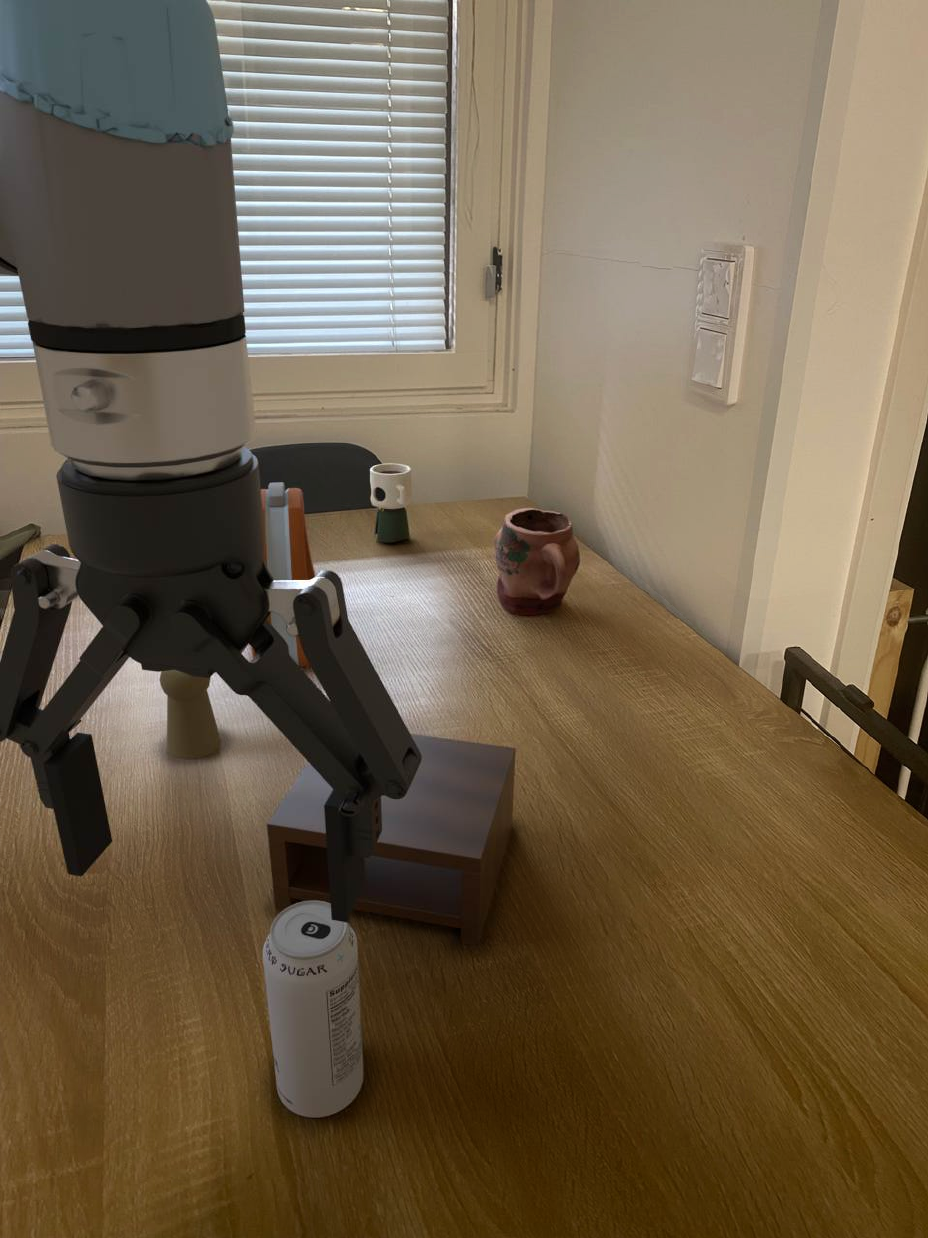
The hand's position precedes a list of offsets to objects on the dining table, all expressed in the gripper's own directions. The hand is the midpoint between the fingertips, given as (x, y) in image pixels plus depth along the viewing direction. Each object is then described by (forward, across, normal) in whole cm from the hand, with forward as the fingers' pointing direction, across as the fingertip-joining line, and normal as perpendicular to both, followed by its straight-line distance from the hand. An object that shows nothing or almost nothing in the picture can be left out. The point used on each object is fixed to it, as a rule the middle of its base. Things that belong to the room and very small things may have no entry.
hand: (216, 879), depth 44 cm
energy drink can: (+27, 0, +9) cm, 29 cm away
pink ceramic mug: (+27, +3, +93) cm, 97 cm away
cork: (+27, -28, +46) cm, 60 cm away
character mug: (+27, -26, +115) cm, 121 cm away
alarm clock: (+27, -27, +73) cm, 82 cm away
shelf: (+27, 0, +32) cm, 42 cm away
